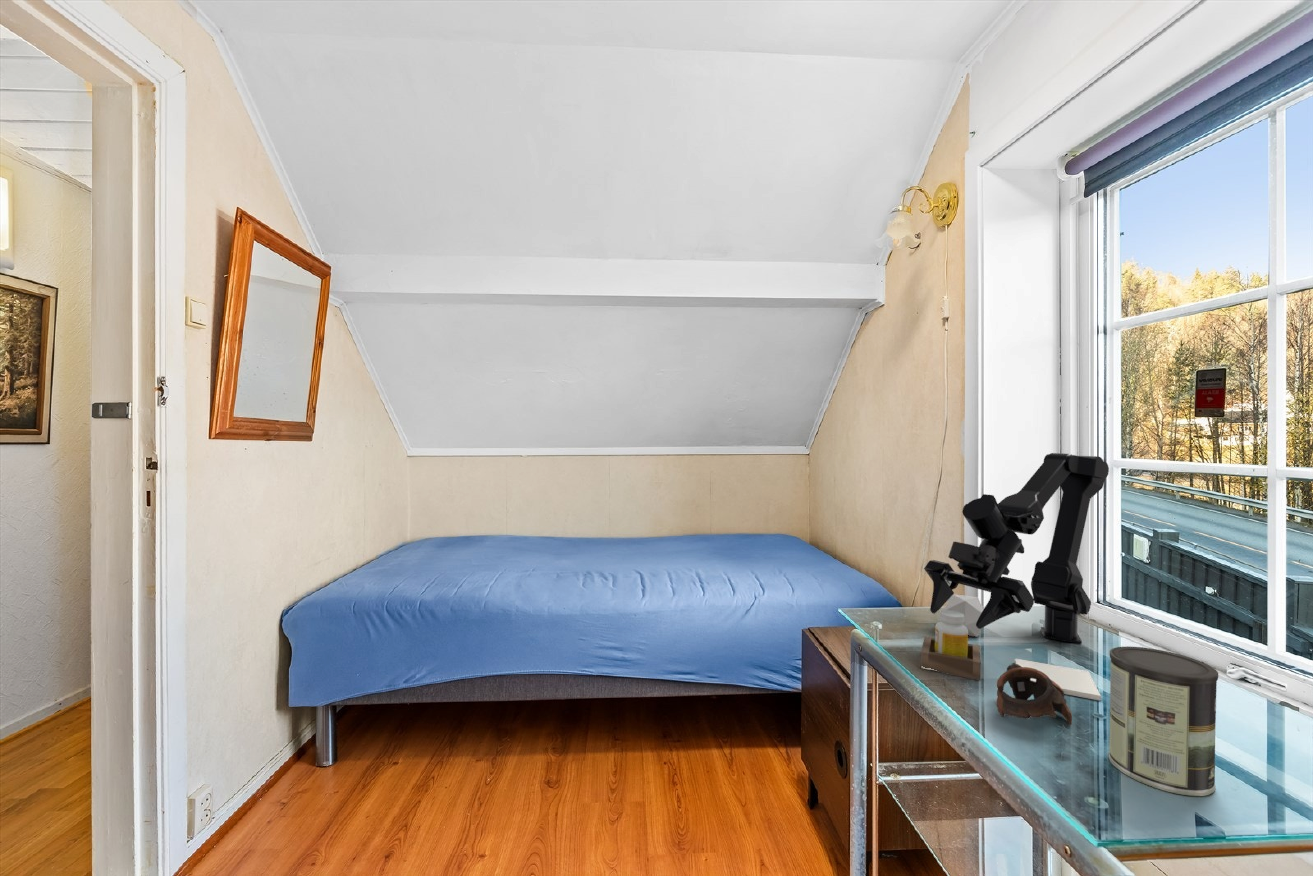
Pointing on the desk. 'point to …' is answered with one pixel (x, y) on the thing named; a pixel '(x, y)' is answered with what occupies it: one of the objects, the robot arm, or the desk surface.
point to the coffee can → (1163, 719)
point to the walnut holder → (952, 660)
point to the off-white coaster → (1066, 679)
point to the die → (966, 611)
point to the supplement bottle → (951, 634)
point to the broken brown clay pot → (1043, 690)
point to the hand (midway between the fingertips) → (953, 619)
